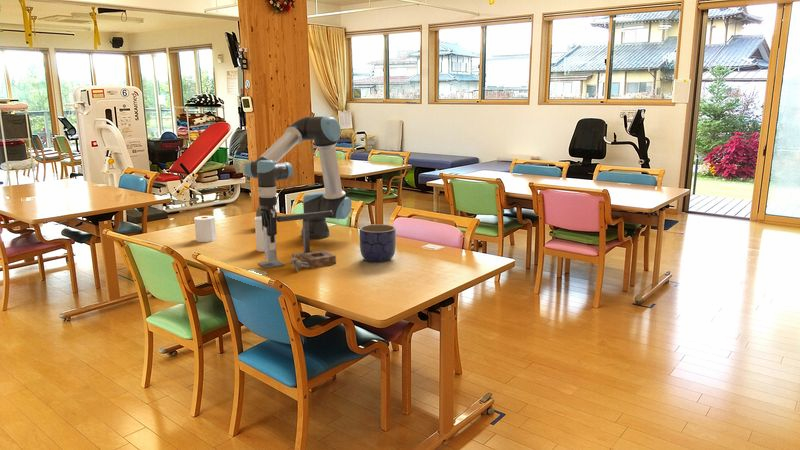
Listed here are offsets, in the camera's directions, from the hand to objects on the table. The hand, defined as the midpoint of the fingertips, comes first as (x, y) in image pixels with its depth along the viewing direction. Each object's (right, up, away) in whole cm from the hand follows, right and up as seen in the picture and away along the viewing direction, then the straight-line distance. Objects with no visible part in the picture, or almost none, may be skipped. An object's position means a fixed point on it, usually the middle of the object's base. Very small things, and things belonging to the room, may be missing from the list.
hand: (270, 248), depth 250 cm
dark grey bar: (+14, +12, +11) cm, 22 cm away
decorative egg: (-19, +9, +75) cm, 78 cm away
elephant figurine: (+13, -9, -5) cm, 17 cm away
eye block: (+20, -7, +5) cm, 22 cm away
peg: (0, -5, +1) cm, 5 cm away
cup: (-9, -2, +28) cm, 29 cm away
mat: (0, -7, +2) cm, 8 cm away
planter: (+47, -6, +10) cm, 49 cm away
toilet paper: (-45, +2, +47) cm, 65 cm away
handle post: (+14, -4, +15) cm, 21 cm away
